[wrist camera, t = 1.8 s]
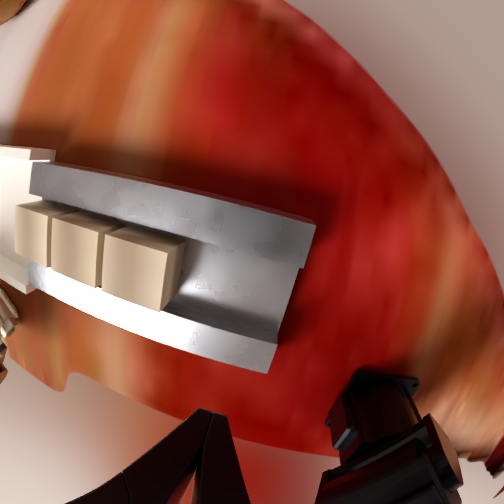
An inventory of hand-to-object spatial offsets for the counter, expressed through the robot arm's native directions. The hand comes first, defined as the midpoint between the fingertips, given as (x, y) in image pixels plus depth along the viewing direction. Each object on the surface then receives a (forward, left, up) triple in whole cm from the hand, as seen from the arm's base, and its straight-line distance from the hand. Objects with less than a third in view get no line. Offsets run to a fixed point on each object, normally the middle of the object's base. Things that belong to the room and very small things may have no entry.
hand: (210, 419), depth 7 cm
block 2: (+11, 0, -11) cm, 15 cm away
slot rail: (+8, 0, -12) cm, 14 cm away
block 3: (+7, 0, -11) cm, 13 cm away
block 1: (+16, 0, -11) cm, 19 cm away
